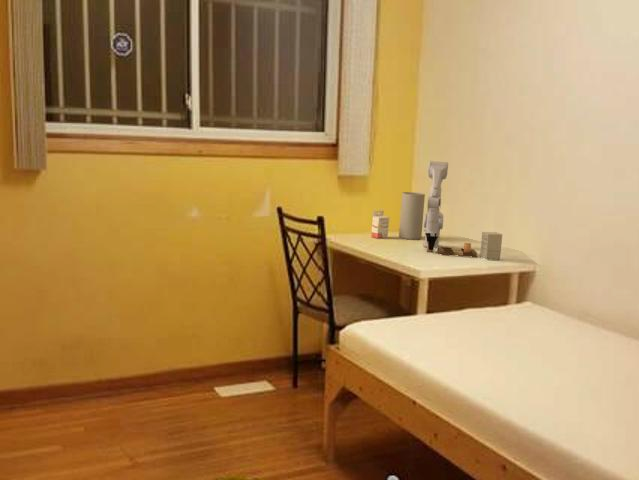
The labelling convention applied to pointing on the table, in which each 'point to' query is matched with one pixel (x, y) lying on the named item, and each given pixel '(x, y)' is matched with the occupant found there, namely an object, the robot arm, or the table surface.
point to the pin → (467, 247)
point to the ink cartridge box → (379, 225)
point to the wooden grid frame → (456, 251)
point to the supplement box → (491, 245)
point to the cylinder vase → (411, 215)
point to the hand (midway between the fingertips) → (430, 248)
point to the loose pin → (428, 249)
